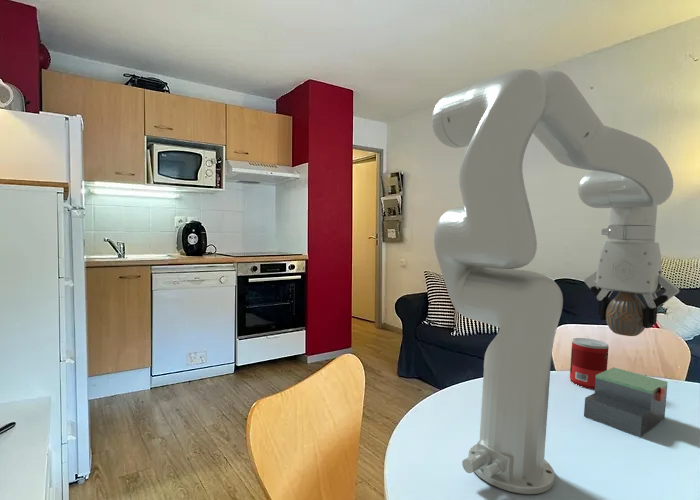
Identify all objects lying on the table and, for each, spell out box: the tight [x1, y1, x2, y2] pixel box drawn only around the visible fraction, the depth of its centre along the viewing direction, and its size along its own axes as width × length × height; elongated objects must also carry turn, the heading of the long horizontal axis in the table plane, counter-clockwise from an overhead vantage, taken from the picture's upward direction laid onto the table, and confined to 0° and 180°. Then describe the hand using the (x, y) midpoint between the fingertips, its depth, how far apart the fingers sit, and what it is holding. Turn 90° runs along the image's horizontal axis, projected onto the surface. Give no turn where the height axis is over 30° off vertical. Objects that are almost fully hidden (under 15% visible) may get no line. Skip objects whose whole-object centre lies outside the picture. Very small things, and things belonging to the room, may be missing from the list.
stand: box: [583, 367, 669, 438], centre depth 82 cm, size 14×11×8 cm
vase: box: [605, 291, 646, 337], centre depth 80 cm, size 7×7×9 cm
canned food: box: [569, 337, 609, 390], centre depth 102 cm, size 8×8×11 cm
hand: (625, 322), depth 80 cm, fingers closed on vase, 6 cm apart
